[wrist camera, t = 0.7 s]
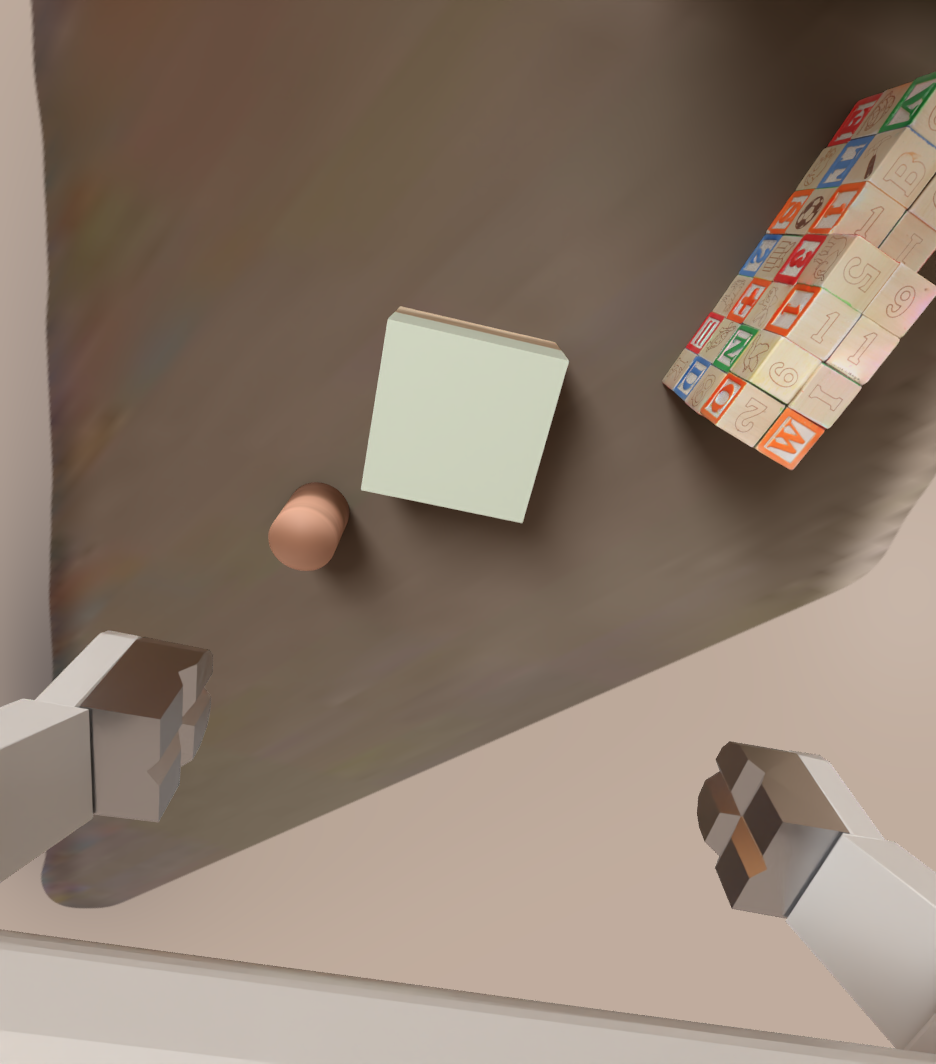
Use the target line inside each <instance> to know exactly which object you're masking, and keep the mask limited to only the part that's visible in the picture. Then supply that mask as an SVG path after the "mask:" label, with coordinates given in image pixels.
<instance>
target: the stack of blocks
mask: <svg viewBox="0 0 936 1064" xmlns="http://www.w3.org/2000/svg"><path fill="white" fill-rule="evenodd" d="M935 250H936V72H933V73H930V74H927V75H924V76H921V77H918V78H917V79H915V80H914V81H913V82H910V83H907V84H903V85H901V86H898V87H894V88H892V89H888V90H886V91H885V92H884V93H880V94H877V95H873V96H870V97H867V98H864V99H862V100H859V101H858V102H857V103H856V104H855V106H854V107H853V109H852V110H851V112H850V113H849V115H848V116H847V118H846V119H845V121H844V122H843V124H842V125H841V126H840V128H839V129H838V131H837V132H836V134H835V135H834V137H833V139H832V140H831V141H830V143H829V144H828V146H827V148H825V149H823V151H822V152H821V153H820V155H819V156H818V158H817V159H816V161H815V162H814V164H813V165H812V166H811V168H810V169H809V171H808V172H807V174H806V175H805V177H804V178H803V179H802V181H801V182H800V184H799V185H798V187H797V188H796V191H795V192H794V193H793V194H792V195H791V197H790V198H789V199H788V201H787V202H786V204H785V205H784V207H783V208H782V209H781V211H780V212H779V214H778V215H777V216H776V218H775V219H774V221H773V222H772V224H771V225H770V227H769V228H768V229H767V231H766V235H765V236H764V237H763V238H762V240H761V241H760V243H759V244H758V246H757V247H756V249H755V250H754V251H753V253H752V254H751V256H750V257H749V259H748V260H747V261H746V263H745V264H744V266H743V267H742V268H741V270H740V271H739V274H738V275H737V277H736V278H735V279H734V281H733V282H732V283H731V285H730V286H729V288H728V289H727V291H726V292H725V293H724V295H723V296H722V298H721V299H720V301H719V302H718V304H717V305H716V307H715V308H714V310H713V311H712V312H711V313H710V314H709V315H708V317H707V318H706V319H705V321H704V322H703V324H702V325H701V326H700V328H699V329H698V331H697V332H696V334H695V335H694V336H693V338H692V339H691V341H690V342H689V344H688V345H687V346H686V348H685V349H684V350H683V352H682V353H681V354H680V356H679V357H678V359H677V360H676V362H675V363H674V364H673V366H672V367H671V369H670V370H669V372H668V373H667V374H666V376H665V377H664V379H663V381H662V382H663V383H664V384H665V385H666V386H667V387H668V388H670V389H671V390H672V391H674V392H675V393H676V394H677V395H678V396H679V397H680V398H682V399H683V400H684V401H685V403H686V404H687V405H688V406H690V407H691V408H692V409H693V410H694V411H695V412H697V413H698V414H699V415H701V416H703V417H705V418H707V419H708V420H710V421H711V422H712V423H713V424H714V425H716V426H718V427H719V428H721V429H723V430H724V431H726V432H727V433H729V434H731V435H732V436H734V437H736V438H737V439H739V440H741V441H742V442H744V443H745V444H747V445H749V446H750V447H754V448H755V449H756V450H758V451H759V452H761V453H762V454H764V455H766V456H767V457H769V458H771V459H772V460H774V461H776V462H777V463H779V464H781V465H783V466H784V467H786V468H788V469H790V470H793V469H794V468H795V467H796V466H797V464H798V463H799V462H800V461H801V459H802V458H803V457H804V456H805V455H806V453H807V452H808V451H809V450H810V449H811V447H812V446H813V445H814V444H815V443H816V441H817V440H818V439H819V438H820V436H821V435H822V434H823V433H824V431H825V429H828V428H830V427H831V426H832V425H833V424H834V422H835V421H836V420H837V419H838V418H839V416H840V415H841V414H842V412H843V411H844V410H845V409H846V407H847V406H848V405H849V404H850V403H851V401H852V400H853V399H854V398H855V396H856V395H857V394H858V392H859V391H860V390H861V388H862V386H861V385H863V384H865V383H867V382H868V381H869V379H870V378H871V377H872V376H873V375H874V373H875V372H876V371H877V369H878V368H879V367H880V366H881V365H882V364H883V362H884V361H885V359H886V358H887V357H888V356H889V354H890V353H891V352H892V351H893V350H894V348H895V347H896V346H897V345H898V343H899V340H900V338H901V337H903V336H904V335H905V334H906V332H907V331H908V330H909V329H910V327H911V326H912V325H913V324H914V322H915V321H916V320H917V319H918V317H919V316H920V315H921V314H922V312H923V311H924V310H925V309H926V308H927V306H928V305H929V304H930V302H931V301H932V300H933V299H934V297H935V296H936V286H935V285H934V284H933V283H931V282H930V281H928V280H927V279H925V278H924V277H922V276H921V275H919V274H918V273H917V272H918V271H919V270H920V269H921V267H922V266H923V265H924V264H925V262H926V261H927V260H928V259H929V257H930V256H931V255H932V254H933V252H934V251H935Z"/></svg>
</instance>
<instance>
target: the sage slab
mask: <svg viewBox="0 0 936 1064" xmlns="http://www.w3.org/2000/svg"><path fill="white" fill-rule="evenodd" d="M568 363H569V360H568V359H567V358H566V356H565V355H564V354H563V352H562V351H561V350H557V349H553V348H548V347H544V346H540V345H536V344H531V343H527V342H523V341H518V340H514V339H510V338H505V337H501V336H497V335H493V334H488V333H484V332H480V331H475V330H471V329H467V328H462V327H458V326H454V325H450V324H445V323H441V322H437V321H432V320H428V319H424V318H419V317H415V316H411V315H407V314H402V313H398V312H394V313H393V314H392V315H391V316H390V317H389V318H388V322H387V328H386V334H385V341H384V347H383V353H382V360H381V366H380V372H379V379H378V385H377V391H376V397H375V404H374V410H373V416H372V423H371V429H370V435H369V442H368V448H367V454H366V461H365V467H364V473H363V479H362V486H361V490H363V491H368V492H373V493H378V494H383V495H388V496H393V497H398V498H402V499H407V500H412V501H417V502H422V503H427V504H432V505H436V506H441V507H446V508H451V509H456V510H461V511H466V512H470V513H475V514H480V515H485V516H490V517H495V518H500V519H504V520H509V521H514V522H519V523H523V520H524V516H525V513H526V509H527V506H528V502H529V499H530V495H531V492H532V488H533V485H534V481H535V478H536V474H537V471H538V467H539V464H540V460H541V457H542V453H543V450H544V446H545V443H546V439H547V436H548V432H549V429H550V425H551V422H552V419H553V415H554V412H555V408H556V405H557V401H558V398H559V394H560V391H561V387H562V384H563V380H564V377H565V373H566V370H567V366H568Z"/></svg>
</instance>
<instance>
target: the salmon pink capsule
mask: <svg viewBox="0 0 936 1064" xmlns="http://www.w3.org/2000/svg"><path fill="white" fill-rule="evenodd" d="M348 519H349V506H348V503H347V501H346V499H345V498H344V496H343V495H342V494H341V493H340V492H339V491H338V490H337V489H335V488H334V487H332V486H330V485H327V484H324V483H308V484H305V485H303V486H301V487H299V488H298V489H297V490H296V491H295V492H294V493H293V495H292V496H291V498H290V499H289V500H288V502H287V503H286V505H285V506H284V508H283V509H282V511H281V512H280V514H279V515H278V516H277V518H276V519H275V521H274V522H273V524H272V526H271V527H270V530H269V544H270V548H271V550H272V552H273V553H274V555H275V556H276V557H277V558H278V560H279V561H281V562H282V563H283V564H285V565H286V566H288V567H290V568H293V569H296V570H302V571H310V570H316V569H318V568H321V567H323V566H324V565H326V564H327V563H328V562H329V561H330V560H331V558H332V557H333V555H334V552H335V550H336V548H337V545H338V543H339V541H340V538H341V536H342V534H343V532H344V529H345V527H346V525H347V522H348Z"/></svg>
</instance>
